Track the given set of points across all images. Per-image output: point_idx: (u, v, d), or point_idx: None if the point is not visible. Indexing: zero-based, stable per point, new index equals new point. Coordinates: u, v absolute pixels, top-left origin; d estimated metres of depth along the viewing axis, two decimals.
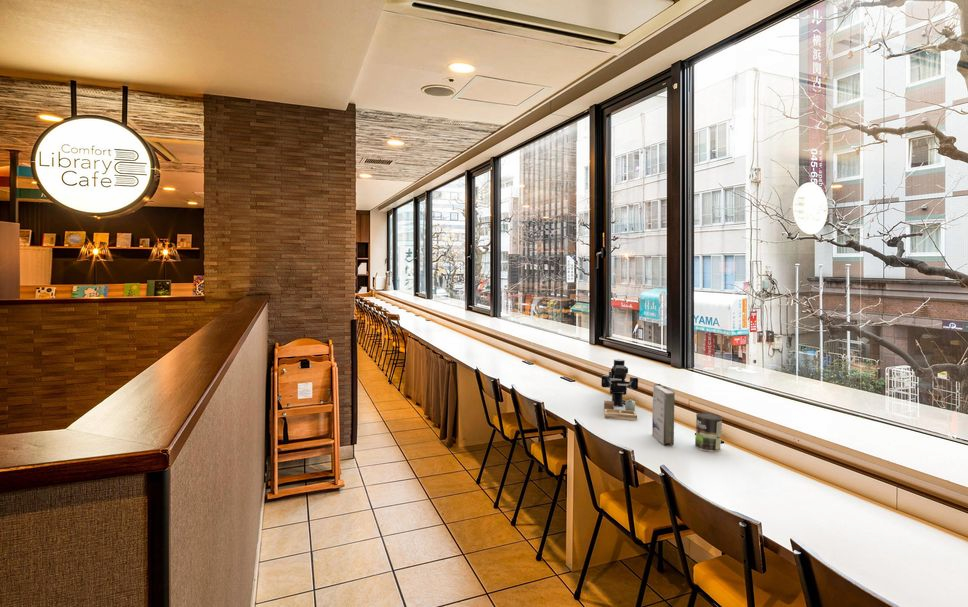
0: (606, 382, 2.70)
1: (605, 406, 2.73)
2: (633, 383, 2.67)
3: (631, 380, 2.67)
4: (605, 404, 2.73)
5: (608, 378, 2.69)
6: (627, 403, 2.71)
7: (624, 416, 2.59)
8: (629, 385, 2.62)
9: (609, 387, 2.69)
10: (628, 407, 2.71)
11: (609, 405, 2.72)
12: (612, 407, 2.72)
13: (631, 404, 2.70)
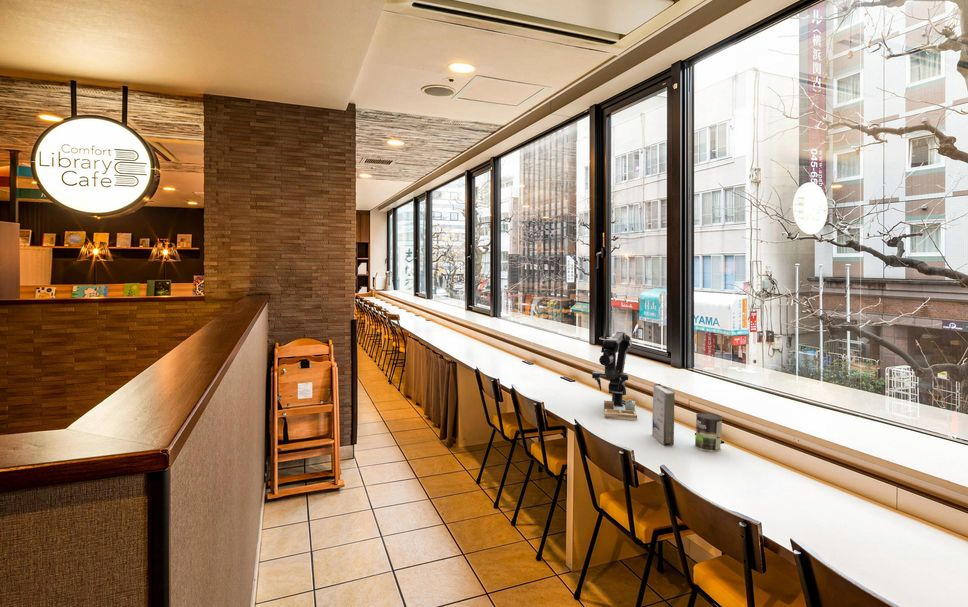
0: None
1: (605, 406, 2.73)
2: None
3: (621, 382, 2.71)
4: (605, 404, 2.73)
5: (598, 380, 2.73)
6: (627, 403, 2.71)
7: (624, 416, 2.59)
8: (618, 392, 2.73)
9: None
10: (628, 407, 2.71)
11: (609, 405, 2.73)
12: (612, 407, 2.72)
13: (631, 404, 2.70)
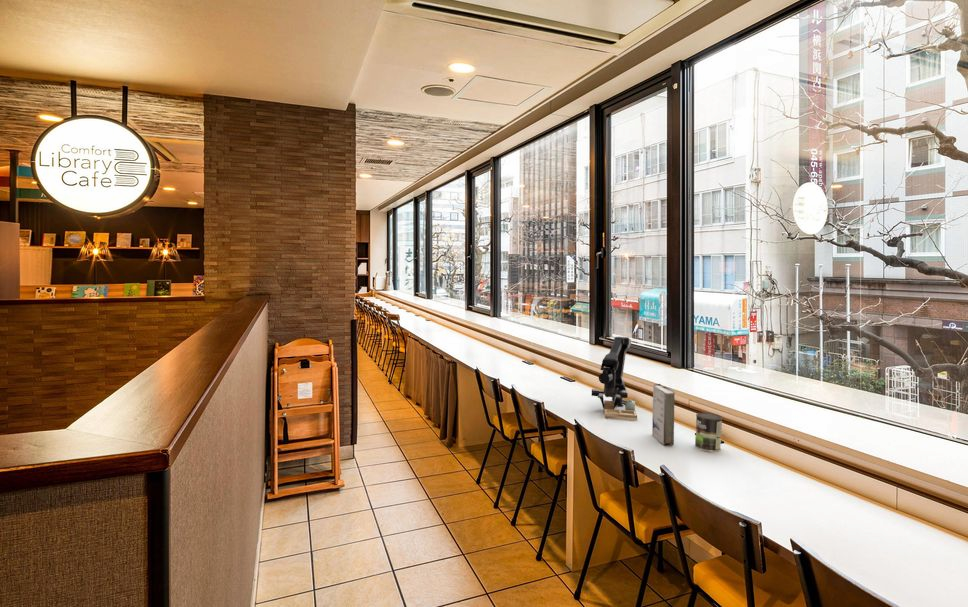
0: None
1: (605, 406, 2.73)
2: None
3: (616, 400, 2.72)
4: (605, 404, 2.73)
5: (601, 398, 2.73)
6: (627, 403, 2.71)
7: (624, 416, 2.59)
8: None
9: None
10: (628, 407, 2.71)
11: (609, 405, 2.72)
12: (612, 407, 2.72)
13: (631, 404, 2.70)
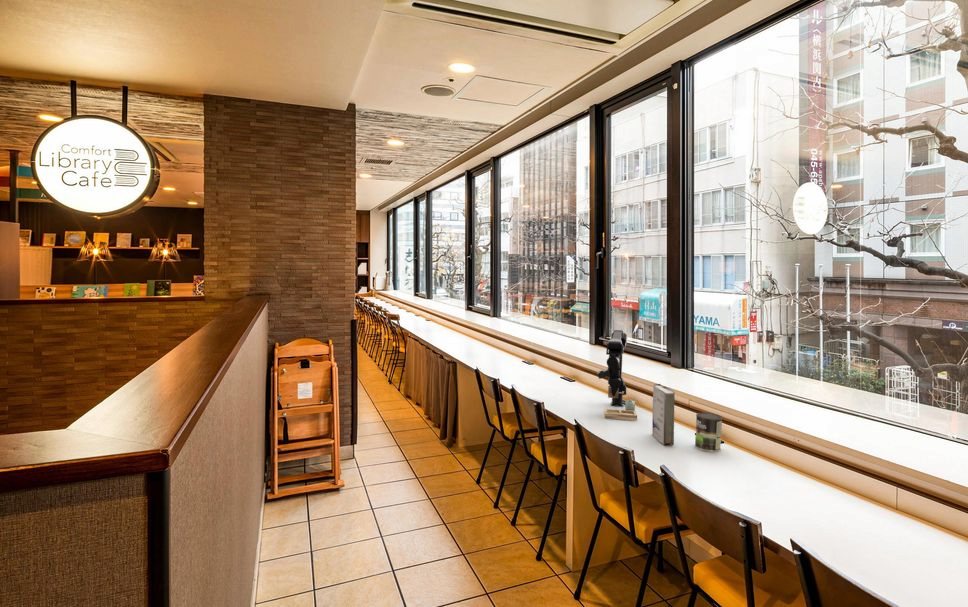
0: None
1: None
2: None
3: (610, 385, 2.61)
4: (608, 387, 2.67)
5: None
6: (627, 403, 2.71)
7: (624, 416, 2.59)
8: (612, 395, 2.62)
9: None
10: (628, 407, 2.71)
11: (608, 389, 2.65)
12: (608, 391, 2.63)
13: (631, 404, 2.70)
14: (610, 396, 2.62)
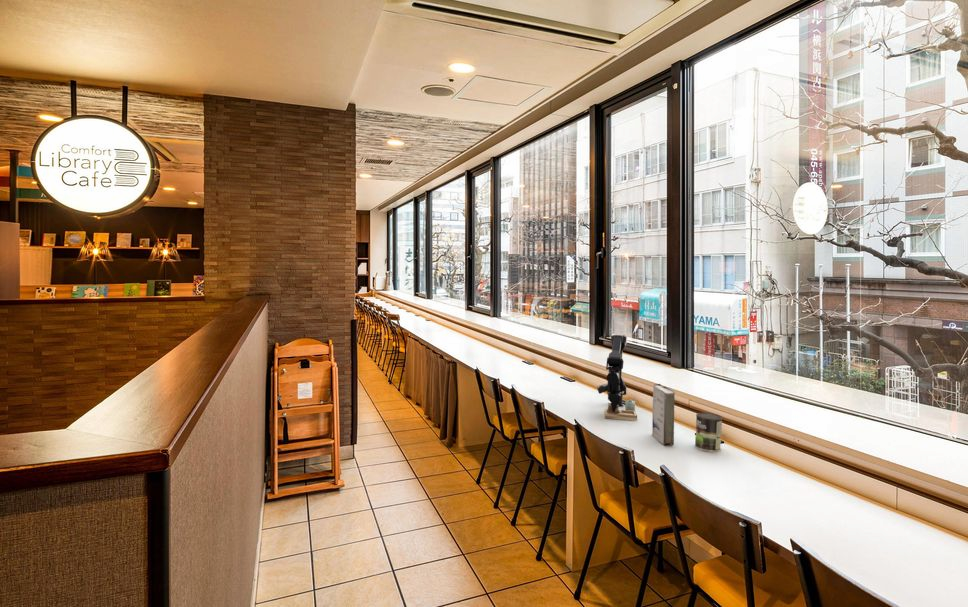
0: None
1: None
2: None
3: (610, 401, 2.60)
4: (608, 404, 2.67)
5: None
6: (627, 403, 2.71)
7: (624, 416, 2.59)
8: None
9: None
10: (628, 407, 2.71)
11: None
12: (608, 409, 2.64)
13: (631, 404, 2.70)
14: None
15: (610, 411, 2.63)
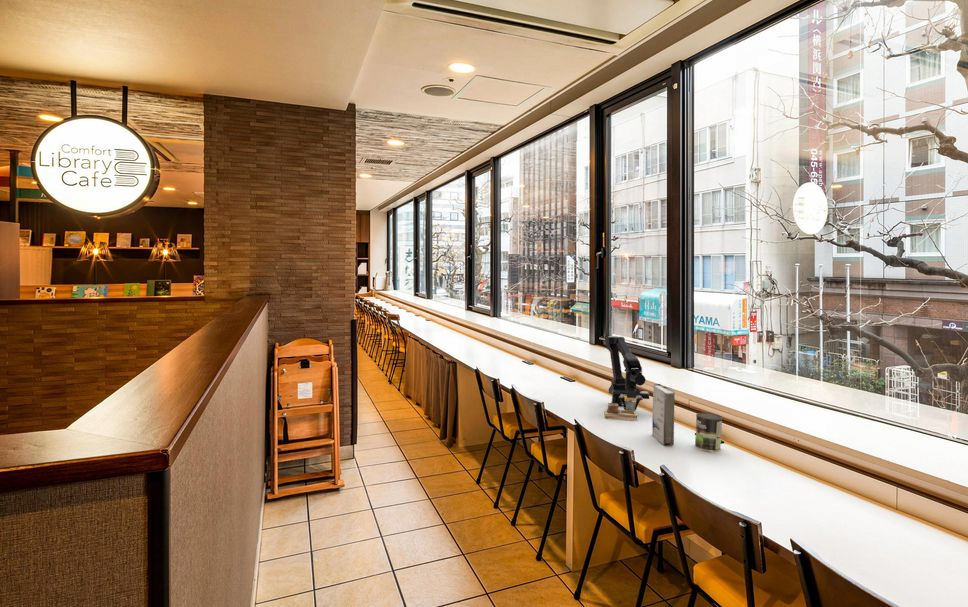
0: None
1: None
2: None
3: (638, 401, 2.70)
4: (608, 404, 2.67)
5: (622, 399, 2.71)
6: (627, 403, 2.71)
7: (624, 416, 2.59)
8: (635, 410, 2.72)
9: None
10: (628, 407, 2.71)
11: None
12: (608, 409, 2.64)
13: (631, 404, 2.70)
14: None
15: (610, 411, 2.63)
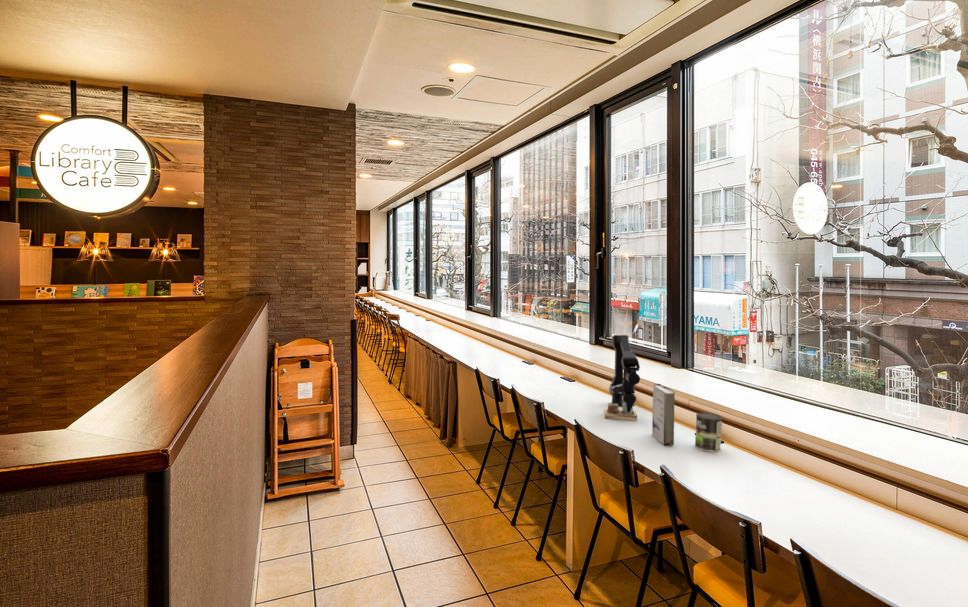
0: None
1: None
2: None
3: (625, 401, 2.58)
4: (608, 404, 2.67)
5: None
6: None
7: (624, 416, 2.59)
8: None
9: None
10: None
11: None
12: (608, 409, 2.64)
13: (623, 405, 2.63)
14: None
15: (610, 411, 2.63)
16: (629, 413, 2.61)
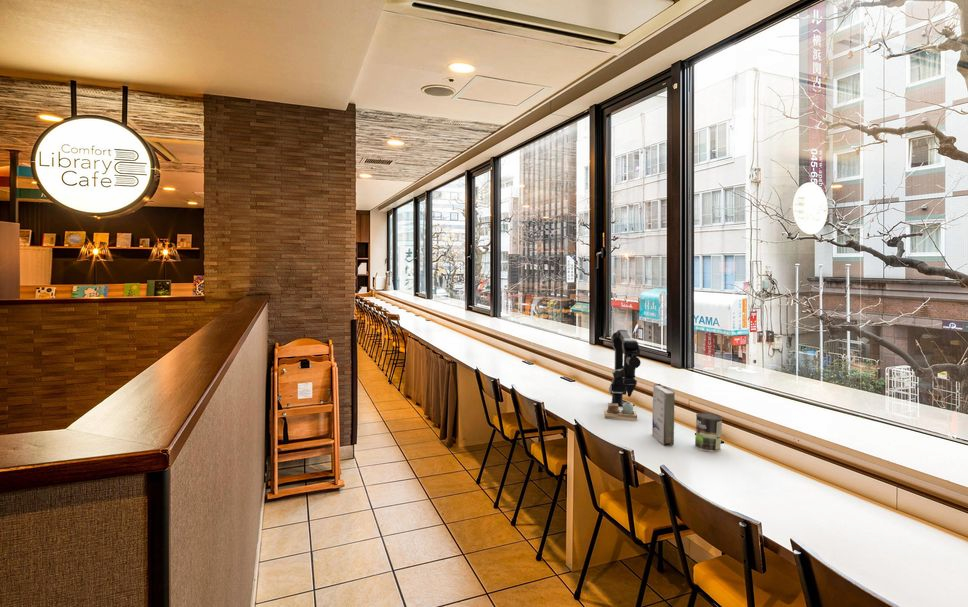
0: None
1: None
2: None
3: (625, 386, 2.57)
4: (608, 404, 2.67)
5: (623, 380, 2.68)
6: None
7: (624, 416, 2.59)
8: (628, 396, 2.58)
9: None
10: None
11: None
12: (608, 409, 2.64)
13: (623, 405, 2.63)
14: None
15: (610, 411, 2.63)
16: (629, 413, 2.61)
